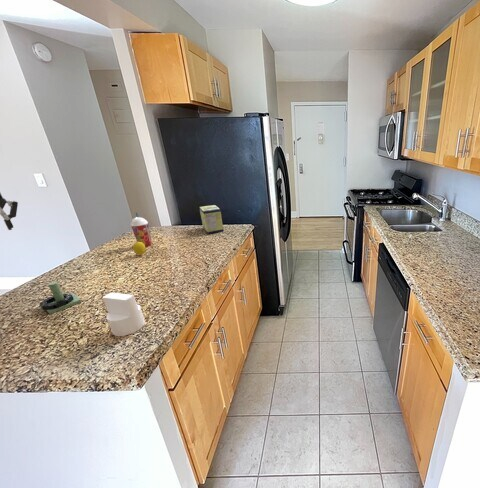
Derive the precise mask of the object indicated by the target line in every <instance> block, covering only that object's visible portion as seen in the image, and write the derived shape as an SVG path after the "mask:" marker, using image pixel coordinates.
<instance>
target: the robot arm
mask: <svg viewBox="0 0 480 488" xmlns="http://www.w3.org/2000/svg"><path fill="white" fill-rule="evenodd" d="M18 204H19V202H17V201H15V200H7V199H5V198H4V197H3V195H2V193H1V192H0V216H1V217H2V219H3V222H4V224H5V226H6V228H7V230H8V231H12V230H13V229H14V225H13V223H12V221H11V219H13V218H16V217H17V211H18V206H19V205H18ZM6 205H8V207H9V208H10V210H9V214H7V213H6V211H4V208H5V206H6Z"/></svg>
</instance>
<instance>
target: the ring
mask: <svg viewBox="0 0 480 488" xmlns="http://www.w3.org/2000/svg"><path fill="white" fill-rule="evenodd" d="M70 293H71V292H70ZM70 293H69V292H65V293H64V292H63V296H64V298H65V299H63V300H62V301H59V302H56V303H51V302H54V301H56V300H55V298H54V296H53V295H52V296H49V297H46V298H45V299H42V301H40V303H39V306H40V308H41V309H42V310H44V311H46V310H50V309H55V308H59V307H62V306H64V305H67V304H69V303H70V302H71V301H72V300H73V299H74V298H73V296H72V295H71V294H70ZM50 303H51V304H50Z"/></svg>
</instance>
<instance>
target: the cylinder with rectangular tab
mask: <svg viewBox="0 0 480 488" xmlns="http://www.w3.org/2000/svg"><path fill="white" fill-rule="evenodd" d="M102 299H103V302H104V304H105V307H106V310H107V312H108V313H107V315H106V320H107V323H108V325H109V328H110V331H111V333H112V335H113V336H115V337H125V336H129V335H131V334H134V333H136V332H138V331H139V330H140V329H142V328H143V327H144V326H145V324H146V320H145V317H144V313H143V311H142V307H141V305H140V304H137V301H136V300H137V299H136V297H135V295H134V294H128V293H120V292H109V293H107V294H105V295H104V296H102Z"/></svg>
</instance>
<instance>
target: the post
mask: <svg viewBox="0 0 480 488" xmlns="http://www.w3.org/2000/svg"><path fill="white" fill-rule="evenodd" d="M47 285H48V288H49V289H50V291H51V294H52V296H54V298H55V300H56V301H54V302H51V303H56V302H59V301H62V300H63V299H65V298H64V296H63V294H64V292H63V291H62V289H61V287H60V285H59V283H58V281H51V282H50V283H48V284H47ZM70 294H71V295H72V296H73V298H74V299H73V300H72V301H71V302H70V303H69V304H67V305H64V306H62V307H59V308H55V309H50V310H45V311H46V312H47V313H48V314H49V315H52V314H54V313H57V312H59V311H62V310H65V309H67V308H70V307H73V306H75V305H78V304H81V303H82V300H81V299H80V298H79V296H77V295H76V294H75V293H73V292H70ZM51 303H50V304H51Z"/></svg>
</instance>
